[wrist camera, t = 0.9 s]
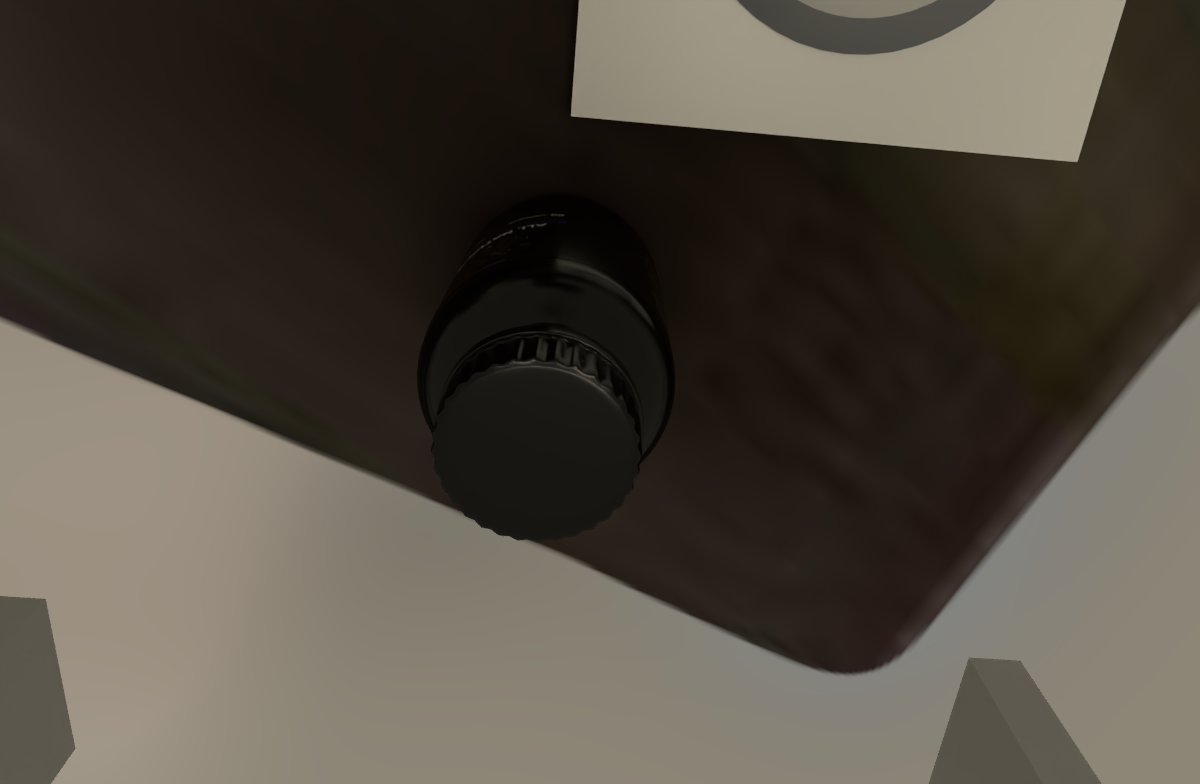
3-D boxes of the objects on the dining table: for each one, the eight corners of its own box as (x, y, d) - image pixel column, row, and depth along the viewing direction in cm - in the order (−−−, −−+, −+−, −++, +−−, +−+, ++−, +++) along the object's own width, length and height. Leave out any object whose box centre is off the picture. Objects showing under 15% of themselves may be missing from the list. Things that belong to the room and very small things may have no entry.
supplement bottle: (508, 155, 29) (457, 251, 18) (692, 246, 30) (751, 387, 19) (429, 334, 31) (342, 514, 20) (602, 410, 32) (609, 619, 21)
